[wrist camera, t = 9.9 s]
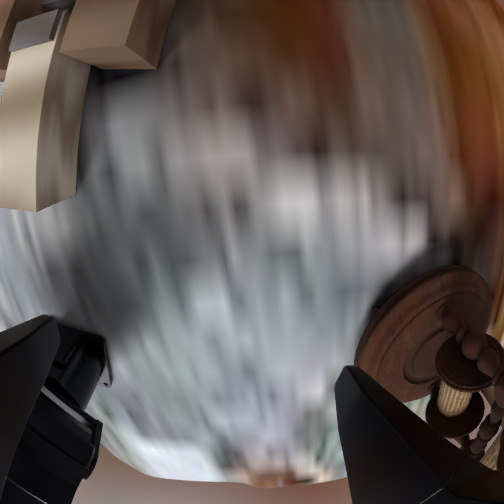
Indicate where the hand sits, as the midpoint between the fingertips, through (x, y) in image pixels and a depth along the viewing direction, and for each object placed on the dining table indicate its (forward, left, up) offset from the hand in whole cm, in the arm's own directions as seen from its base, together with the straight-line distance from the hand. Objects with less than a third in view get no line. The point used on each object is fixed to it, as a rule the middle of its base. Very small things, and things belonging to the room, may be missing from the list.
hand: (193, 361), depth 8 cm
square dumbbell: (+13, +13, -12) cm, 22 cm away
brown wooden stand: (-6, -19, -12) cm, 24 cm away
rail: (+7, +13, -12) cm, 19 cm away
